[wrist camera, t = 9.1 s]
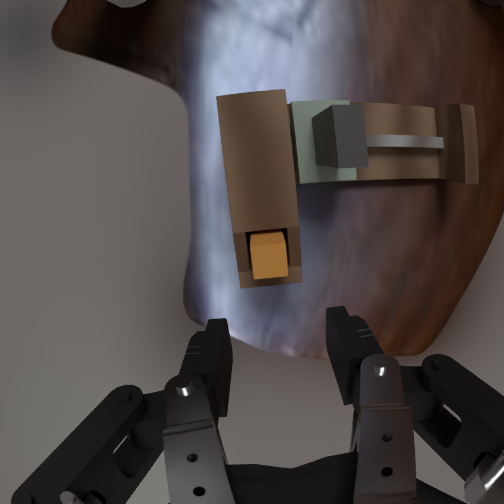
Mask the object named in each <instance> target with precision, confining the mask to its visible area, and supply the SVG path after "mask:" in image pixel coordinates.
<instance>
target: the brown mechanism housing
mask: <svg viewBox="0 0 504 504" xmlns="http://www.w3.org/2000/svg"><path fill="white" fill-rule="evenodd" d="M216 100H217V108H218V117H219V126H220V134H221V142H222V151H223V159H224V167H225V175H226V183H227V191H228V199H229V206H230V214H231V222H232V229H233V237H234V244H235V252H236V259H237V266H238V273H239V280H240V288H250V287H261V286H271V285H280V284H290V283H299V282H302V264H301V247H300V233H299V219H298V206H297V194H296V185H299V184H300V183H298V182H297V176H296V165H295V163H294V162H293V154H294V146H293V137H292V134H290V124H291V119H290V111H289V105H290V104H287V101H286V93H285V89H280V90H267V91H256V92H247V93H238V94H230V95H223V96H216ZM349 104H350V105H363V112H364V120H365V129H366V140H367V151H368V165H369V167H362V168H356V177H357V180H344V181H358V180H380V179H414V178H441V179H445V180H450V181H455V182H459V183H464V184H479V167H478V144H477V131H476V121H475V112H474V106H471V105H466V104H461V103H459V104H453V105H447V106H441V107H436V108H431V107H422V106H412V105H400V104H385V103H357V102H349ZM329 182H340V181H329ZM315 183H325V182H315ZM302 184H312V183H302ZM278 228H281V230H282V233H283V237H284V240H285V243H286V253H287V266H288V276H283V277H273V278H263V279H254V275H253V267H252V258H251V250H250V241H251V231H259V230H268V229H278Z"/></svg>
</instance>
